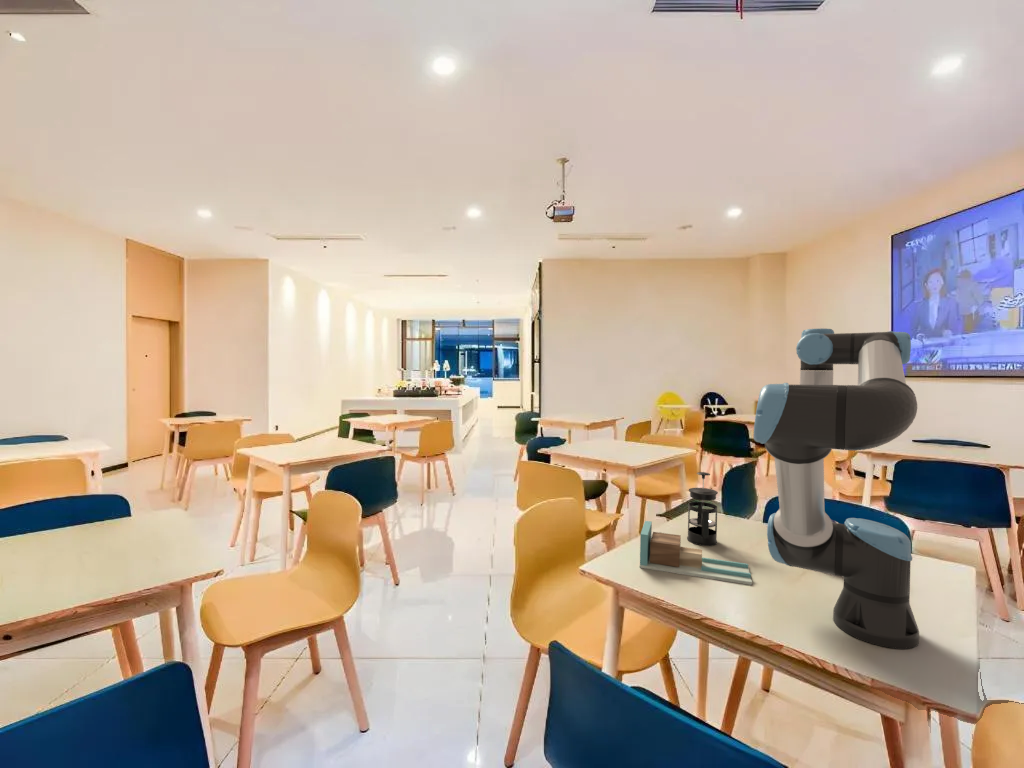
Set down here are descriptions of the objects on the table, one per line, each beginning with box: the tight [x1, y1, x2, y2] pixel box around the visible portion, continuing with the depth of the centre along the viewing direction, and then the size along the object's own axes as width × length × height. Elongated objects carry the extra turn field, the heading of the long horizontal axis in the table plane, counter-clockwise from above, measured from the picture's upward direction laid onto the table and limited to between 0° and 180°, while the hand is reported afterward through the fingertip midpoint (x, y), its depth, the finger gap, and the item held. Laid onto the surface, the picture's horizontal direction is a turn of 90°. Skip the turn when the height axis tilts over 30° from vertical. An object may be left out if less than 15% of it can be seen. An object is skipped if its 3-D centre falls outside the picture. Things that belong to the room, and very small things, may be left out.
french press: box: [686, 471, 718, 547], centre depth 159 cm, size 12×9×23 cm
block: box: [650, 531, 682, 567], centre depth 141 cm, size 9×8×6 cm
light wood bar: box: [679, 546, 703, 568], centre depth 139 cm, size 4×12×4 cm, turn 68°
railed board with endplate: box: [639, 520, 753, 586], centre depth 138 cm, size 13×29×10 cm, turn 69°
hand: (813, 474), depth 128 cm, fingers closed
